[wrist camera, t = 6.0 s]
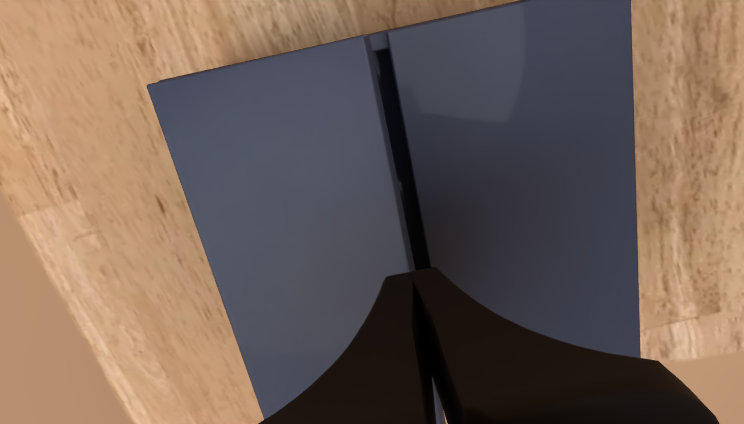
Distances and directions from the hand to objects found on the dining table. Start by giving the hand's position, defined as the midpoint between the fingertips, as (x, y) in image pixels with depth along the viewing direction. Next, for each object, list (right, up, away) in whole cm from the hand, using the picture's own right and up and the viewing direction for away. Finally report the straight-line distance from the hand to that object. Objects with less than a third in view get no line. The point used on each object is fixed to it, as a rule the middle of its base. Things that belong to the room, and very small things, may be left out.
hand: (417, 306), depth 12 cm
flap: (-3, 0, +2) cm, 4 cm away
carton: (0, +3, +10) cm, 10 cm away
